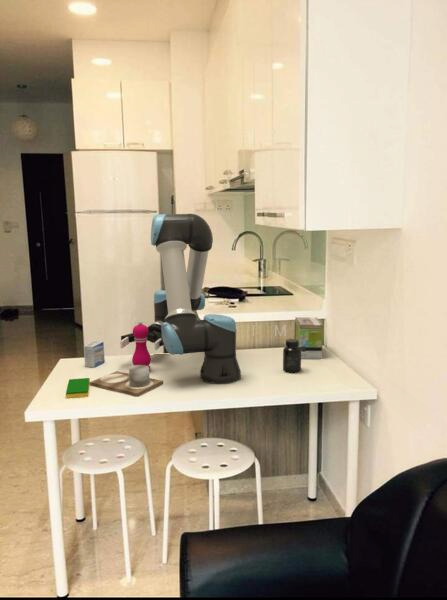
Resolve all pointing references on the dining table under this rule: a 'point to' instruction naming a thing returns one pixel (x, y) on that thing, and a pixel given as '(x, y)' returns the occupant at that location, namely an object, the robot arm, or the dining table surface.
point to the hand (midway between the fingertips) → (138, 345)
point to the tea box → (309, 337)
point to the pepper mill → (141, 345)
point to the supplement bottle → (292, 356)
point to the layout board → (128, 381)
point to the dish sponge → (78, 388)
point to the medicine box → (94, 354)
